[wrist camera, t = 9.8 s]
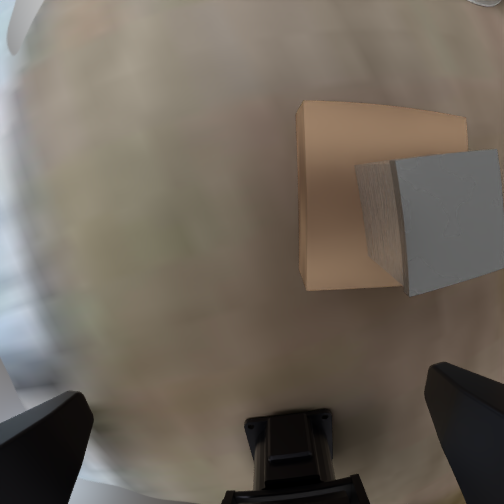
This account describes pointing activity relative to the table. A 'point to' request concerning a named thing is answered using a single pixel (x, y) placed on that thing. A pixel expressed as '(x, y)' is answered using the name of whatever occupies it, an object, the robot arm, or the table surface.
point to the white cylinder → (485, 2)
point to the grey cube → (434, 217)
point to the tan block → (354, 181)
